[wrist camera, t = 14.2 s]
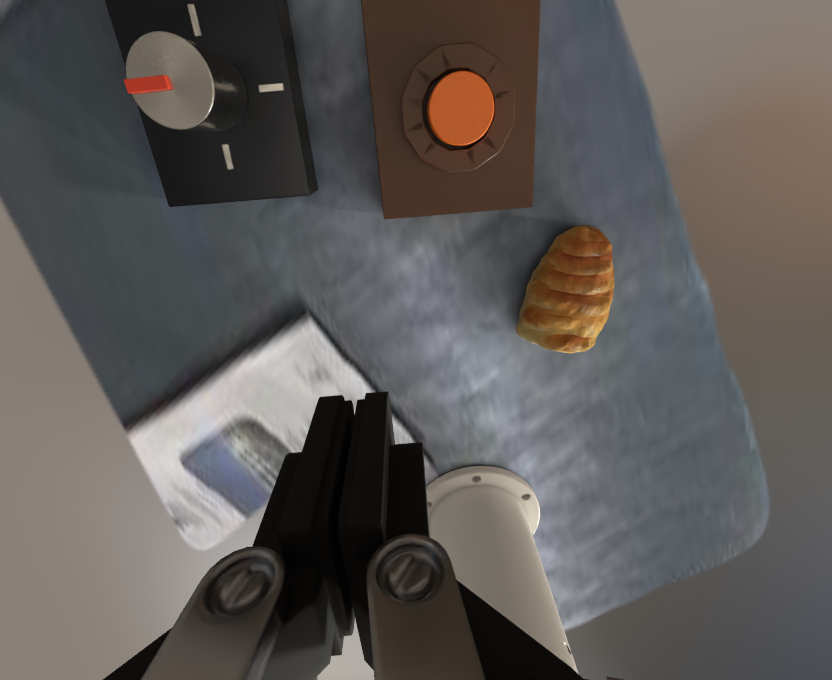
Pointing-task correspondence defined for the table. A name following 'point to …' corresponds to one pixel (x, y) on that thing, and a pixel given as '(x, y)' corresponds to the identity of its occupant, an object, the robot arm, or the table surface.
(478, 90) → the button
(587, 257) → the pastry
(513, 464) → the table surface
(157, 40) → the dial
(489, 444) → the table surface
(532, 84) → the block
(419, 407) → the table surface
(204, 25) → the dial panel
